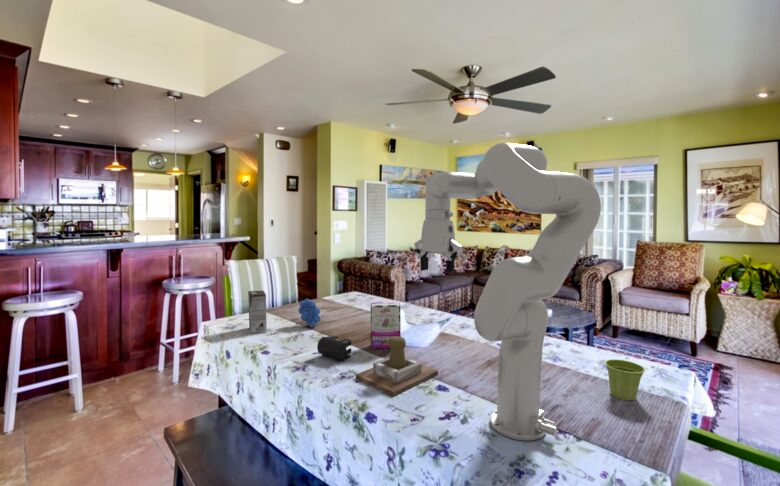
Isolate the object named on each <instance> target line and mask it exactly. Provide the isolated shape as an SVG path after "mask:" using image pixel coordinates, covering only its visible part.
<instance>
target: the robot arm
mask: <svg viewBox="0 0 780 486" xmlns="http://www.w3.org/2000/svg"><path fill="white" fill-rule="evenodd" d="M547 166H548V161H547V157H546V155H545V153H544V152H543V151H542V150H541V149H539V148H537V147H535V146H534V145H533V146H532V145H528V144H519V143H511V142H500V143H496V144H494V145H492V146H490V148H489V149H488V150H487V151H486V153H484V156H483V159H482V160H481V161H480V162H479V163H478V164H477V166H476V170H475V172H467V171H449V170H448V171H447V170H446V171H442V172H439V173H438V174H436V173H435V174H429V175H428V176H426V178H425V204H424V205H425V208H424V209H425V210H424V211H425V215H424V216H425V217H424V220H423V221H422V222H423V223H422V229H421V235H420V238H421V239H419V240H417V241H415V242H414V248H415V251H416V253H417V254H418V257H419V259H420V271H422V272H423V271H428V270H429V257H428V255H429V254H430V253H431V254H440V255H441V254H442V255H444V256H445V258H446V259H447V260H445V274H446V275H451V274H454V272H455V261H456V260H457V258H458V257H459V256H460V254H461V251H462V249H463V246H462V244H459V243H458V242H457V241H456V237H455V236H456V235H455V234H456V233H455V227H454V222H453V220H451V218H452V217H454V212H453V211H451V199H461V200H462V199H463V200H464V199H466V200H472V199H473V200H474V199H479V198H484V197H489V196H492V195H493V194H495V193H496V192H497V191H499V192H500V193H501V194H502V195H503V197H505V198H506V200H508V201H509V202H510V204H512V205H513V206H514V207H516V208H517V209H518V210H520V211H521V212H523V213H526V214H532V215H555V217H554V219H552V221H551V222H550V223H549V224H547V225H546V226H545V227H544V229H543V230H542V231H541V232H540V233H539V235H538V237H537V239H536V242H535V244H534V246H533V248H532V249H531V251H530V252H529V253H528V254H527V255H524V256H514V257H509V258H506V259H503V260H501V261H500V262H499V263H497V264H496V265H495V267H494V268H493V269H492V270H491V272H490V275H489V276H488V278H487V279H488V280H487V281H486V283H485V286H484V288H483V291H482V292H481V295H480V296H479V299H478V301H477V304H476V306H475V310H474V313H473V315H474V316H473V323H474V327H475V329H476V332H477V333H478V334H479V336H481V338H483V339H485V340H487V341H490V342H500V346H499V350H498V351H499V352H498V371H497V372H498V373H497V399H496V400H497V402H496V404H497V406H496V410H493V412H492V413H490V417H489V421H490V422H489V423H490V424H491V427H492V428H493V430H495V431H496V432H497V433H499V434H501V435H503V436H505V437H507V438H510V439H514V440H518V441H526V442H527V441H528V442H529V441H536V440H539V439H541V438H543V437H544V436H545V435H546V434H548V435H550V436H552V437H556V436H557V435H558V434H557V433H558V427H557V426H556V424H557V423H556V421H553V420H551V419H547V418H546V417H545V416H544V415H545V410H543V409H540V408H541V386H542V363H543V348H544V347H543V346H544V342H545V335H546V331H547V328H548V323H549V313H548V312H549V311H548V309H547V307H546V304H545V303H544V301H543V300H545V299H546V300H547V299H550V298H552V297H554V296H555V295H556V294H557V293H558V292H559V290H560V289H561V287H562V286H563V284H564V282H565V280H566V279H567V277H568V276H569V273H570V272H571V269H572V268H573V266H574V265H575V263H576V261H577V259H578V257H579V254H580V253H581V252H582V249H583V248H584V246H585V245H586V244H587V242H588V240H590V237H591V235H593V232H594V231H595V229H596V227H597V224H598V222H599V220H600V216H601V211H602V204H601V198H600V194H599V191H598V190H597V188H596V186H595V185H594V184H593V183H592V182H591V181H590V180H589V179H588V178H586V177H584V176H582V175H580V174H576V173H572V172H571V173H570V172H561V171H550V170H549V171H546V170H547Z"/></svg>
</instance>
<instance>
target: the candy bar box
mask: <svg viewBox="0 0 780 486" xmlns="http://www.w3.org/2000/svg"><path fill="white" fill-rule="evenodd" d="M396 336H399V337H401V304H400V302H371V303H370V349H371V350H372V349H373V350H375V349H376V350H384V349H385V350H391V348H390V347H389V340H390V338H392V337H396Z"/></svg>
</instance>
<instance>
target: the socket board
mask: <svg viewBox="0 0 780 486" xmlns="http://www.w3.org/2000/svg"><path fill="white" fill-rule="evenodd" d="M389 357H390V356H389ZM389 357H385V358H383V359H380V360H378V361H375V362H373V363H372V366H373V367H371V368H369V369H366V370H363V371H361V372H359V373H356V374H355V379H356V380H358V381H361V382H363V383H365V384H367V385H369V386H371V387H373V388H375V389H377V390H379V391H381V392H384V393H386V394H388V395H391V396H392V397H395V396H397V395H399V394H401V393H404V392H405V391H407V390H409V389H411V388H413V387H415V386H417V385H420V384H422V383H424V382H426V381H427V380H429V379H430V380H431V378H433V377H436V376H437V375H439V370H437V369H434V368H432V367H429V366H426V365H424V364H422V362H420V361H417V360H414V359H411V358H409V357H406V356H405V361H406V367H404V368H402V369H400V370H396V369H394V368H391V367H389V366H388V364H389Z"/></svg>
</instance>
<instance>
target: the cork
mask: <svg viewBox="0 0 780 486" xmlns="http://www.w3.org/2000/svg"><path fill="white" fill-rule="evenodd" d="M406 344H407V343H406V339H405V337H402V336H400V337H399V336H396V337H392V338H390V340H389V347H390V348H391V349H389V350H390V351H389V364H388V366H389V367H391V368H394V369H396V370H400V369H402V368H404V367H406V361H405V357H406V356H405V355H406V353H405V347H406Z"/></svg>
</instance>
